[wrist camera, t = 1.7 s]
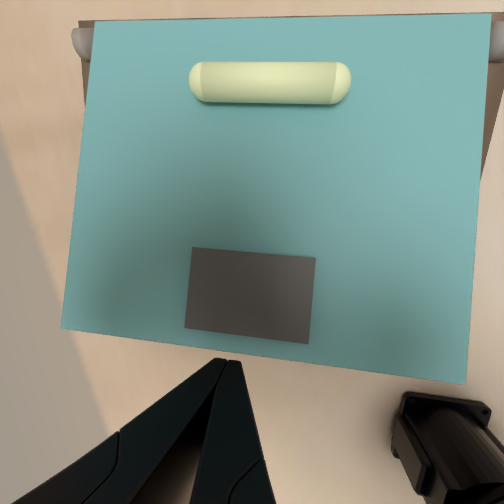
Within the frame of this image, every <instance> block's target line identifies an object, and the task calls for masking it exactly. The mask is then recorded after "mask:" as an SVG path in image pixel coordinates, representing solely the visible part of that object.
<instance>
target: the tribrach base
mask: <svg viewBox="0 0 504 504" xmlns="http://www.w3.org/2000/svg"><path fill="white" fill-rule="evenodd" d="M443 14H492V16H491V30H490V45H489V59H488V73H487V87H486V102H485V116H484V130H483V144H482V159H481V173H480V179H481V176H482V172H483V168H484V164H485V160H486V156H487V152H488V148H489V144H490V140H491V136H492V133H493V129H494V125H495V121H496V117H497V113H498V109H499V105H500V101H501V97H502V93H503V90H504V12H480V13H431V14H383V15H334V16H285V17H237V18H188V19H139V20H91V21H78V23H79V28H74V29H73V30H72V35H71V36H72V42H73V46H74V48H75V50H76V52H77V53H78V55H79V56H80V57H81V62H82V75H83V88H84V101H85V107H86V98H87V89H88V80H89V71H90V62H91V53H92V44H93V36H94V27H95V21H143V20H193V19H243V18H293V17H343V16H393V15H443Z"/></svg>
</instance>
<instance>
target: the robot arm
mask: <svg viewBox="0 0 504 504" xmlns="http://www.w3.org/2000/svg"><path fill="white" fill-rule="evenodd" d="M409 399H412V400H409ZM491 412H492V411H491V409H490V408H489V407H488V406H487V405H486V404H484V403H479V402H472V401H465V400H458V399H451V398H444V397H438V396H431V395H424V394H417V393H406V394H404V396H403V399H402V404H401V408H400V412H399V415H398V417H397V419H396V423H395V427H394V432H393V436H392V447H391V451H392V454H393V456H394V457H395V458H398V459H400V460H401V462H402V465H403V467H404V469H405V471H406V473H407V476H408V478H409V480H410V482H411V485H412V487H413V489H414V491H415V492H416V493H417V495H421V496H423V498H424V500H425V502H426V504H504V446H503V445H502V444H501V442H500V441H499V440H498V439H497V438H496V437H495V436H494V435H493V433H492V432H491V431H490V430H489V429H488V428H487V425H488V422H489V419H490V416H491ZM12 504H276V501H275V497H274V493H273V490H272V486H271V482H270V479H269V475H268V471H267V467H266V463H265V460H264V455H263V451H262V447H261V443H260V439H259V434H258V430H257V426H256V422H255V418H254V414H253V409H252V405H251V401H250V397H249V393H248V389H247V385H246V380H245V376H244V372H243V368H242V364H241V362H240V361H236V360H228V361H227V360H226V359H222V358H214V359H213V360H211V361H210V362H209V363H207V364H206V365H205V366H203V367H202V368H201V369H199V370H198V371H197V372H195V373H194V374H193V375H191V376H190V377H189V378H187V379H186V380H185V381H183V382H182V383H181V384H179V385H178V386H177V387H175V388H174V389H173V390H171V391H170V392H169V393H167V394H166V395H165V396H163V397H162V398H161V399H159V400H158V401H157V402H155V403H154V404H153V405H151V406H150V407H149V408H147V409H146V410H145V411H143V412H142V413H141V414H139V415H138V416H137V417H135V418H134V419H133V420H131V421H130V422H129V423H127V424H126V425H125V426H123V427H122V428H121V429H120V431H117V432H115V433H114V434H112V435H111V436H110V437H108V438H107V439H106V440H104V441H103V442H102V443H100V444H99V445H98V446H96V447H95V448H94V449H92V450H91V451H89V452H88V453H87V454H85V455H84V456H82V457H81V458H80V459H78V460H77V461H75V462H74V463H72V464H71V465H69V466H68V467H67V468H65V469H63V470H62V471H60V472H59V473H57V474H56V475H54V476H53V477H51V478H50V479H49V480H47V481H46V482H44V483H42V484H41V485H39V486H38V487H36V488H35V489H33V490H32V491H30V492H29V493H27V494H25V495H24V496H22V497H21V498H19V499H18V500H16V501H15V502H13V503H12Z"/></svg>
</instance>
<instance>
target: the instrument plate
mask: <svg viewBox="0 0 504 504" xmlns="http://www.w3.org/2000/svg"><path fill="white" fill-rule="evenodd" d="M491 16H492V14H443V15H393V16H343V17H293V18H243V19H193V20H143V21H95V27H94V36H93V44H92V53H91V62H90V71H89V80H88V89H87V98H86V107H85V115H84V124H83V133H82V142H81V151H80V160H79V169H78V178H77V186H76V195H75V204H74V213H73V222H72V231H71V240H70V249H69V257H68V266H67V275H66V284H65V293H64V302H63V311H62V320H61V329H68V330H75V331H82V332H89V333H97V334H104V335H111V336H118V337H125V338H133V339H140V340H147V341H154V342H161V343H168V344H176V345H183V346H190V347H197V348H204V349H211V350H219V351H226V352H233V353H240V354H247V355H254V356H262V357H269V358H276V359H283V360H290V361H298V362H305V363H312V364H319V365H326V366H333V367H341V368H348V369H355V370H362V371H369V372H376V373H384V374H391V375H398V376H405V377H412V378H419V379H427V380H434V381H441V382H448V383H455V384H463V385H466V372H467V358H468V344H469V330H470V315H471V301H472V287H473V273H474V258H475V244H476V230H477V216H478V201H479V187H480V173H481V159H482V144H483V130H484V116H485V102H486V87H487V73H488V59H489V45H490V30H491Z"/></svg>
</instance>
